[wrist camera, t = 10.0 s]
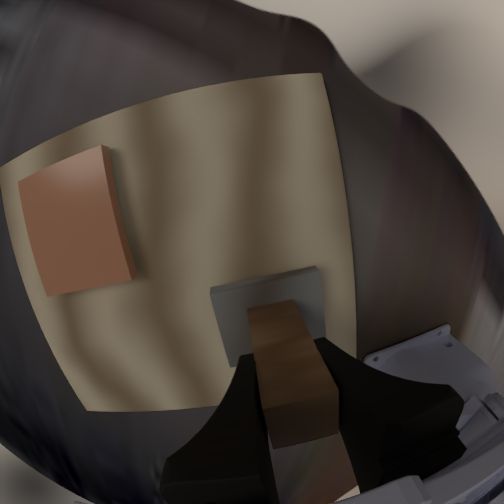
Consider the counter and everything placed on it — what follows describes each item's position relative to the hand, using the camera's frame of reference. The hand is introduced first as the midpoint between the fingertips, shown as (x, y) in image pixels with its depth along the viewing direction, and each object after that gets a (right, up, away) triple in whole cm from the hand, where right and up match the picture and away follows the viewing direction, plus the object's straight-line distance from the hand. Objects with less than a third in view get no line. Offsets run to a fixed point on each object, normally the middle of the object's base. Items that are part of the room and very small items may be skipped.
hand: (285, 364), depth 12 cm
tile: (-12, +3, +4) cm, 13 cm away
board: (-7, +3, +6) cm, 10 cm away
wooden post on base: (0, +1, +5) cm, 5 cm away
